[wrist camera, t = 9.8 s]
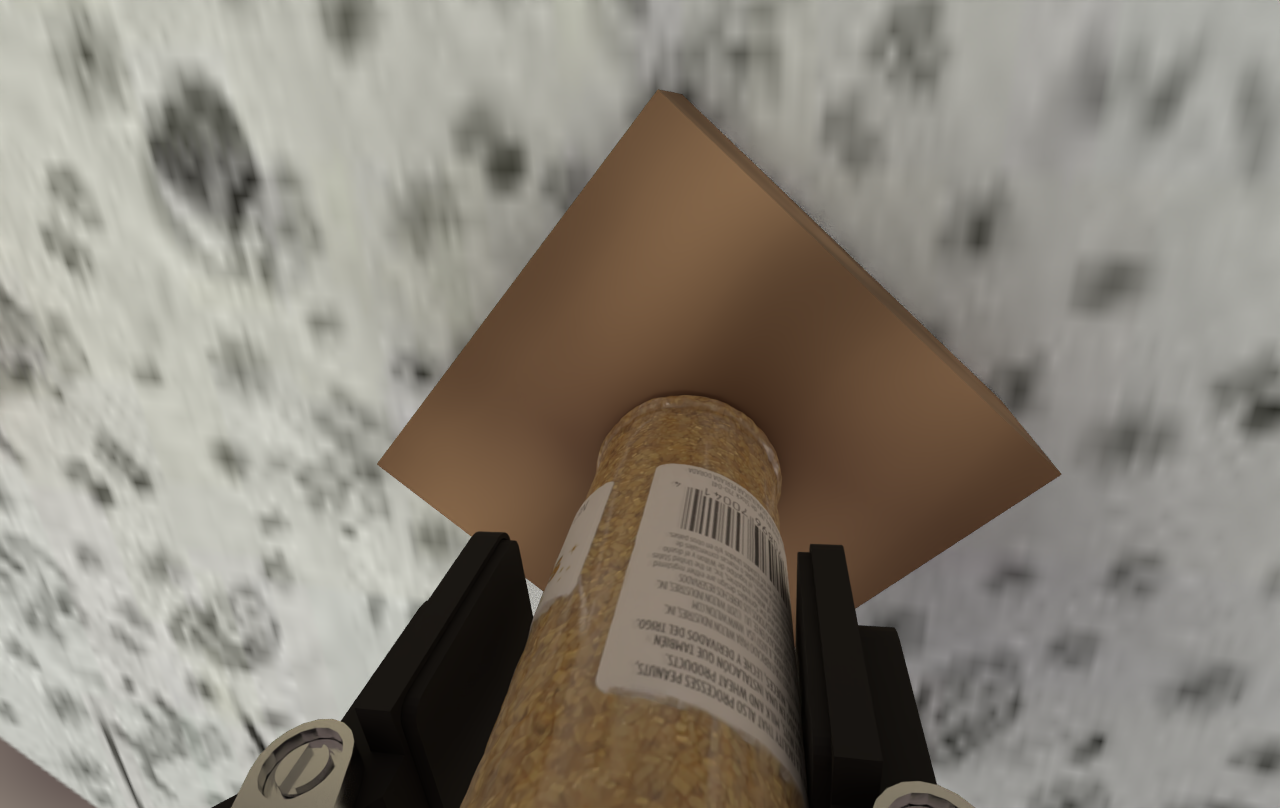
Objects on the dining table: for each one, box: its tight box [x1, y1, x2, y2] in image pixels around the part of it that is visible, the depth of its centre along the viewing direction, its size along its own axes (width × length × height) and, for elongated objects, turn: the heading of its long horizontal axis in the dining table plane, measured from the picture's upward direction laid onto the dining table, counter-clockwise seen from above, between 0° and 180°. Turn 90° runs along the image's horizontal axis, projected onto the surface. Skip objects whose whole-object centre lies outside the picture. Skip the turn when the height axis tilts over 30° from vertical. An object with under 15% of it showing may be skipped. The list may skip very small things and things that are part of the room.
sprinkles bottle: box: [460, 395, 809, 808], centre depth 10 cm, size 5×5×14 cm
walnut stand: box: [377, 90, 1061, 645], centre depth 17 cm, size 12×12×4 cm
